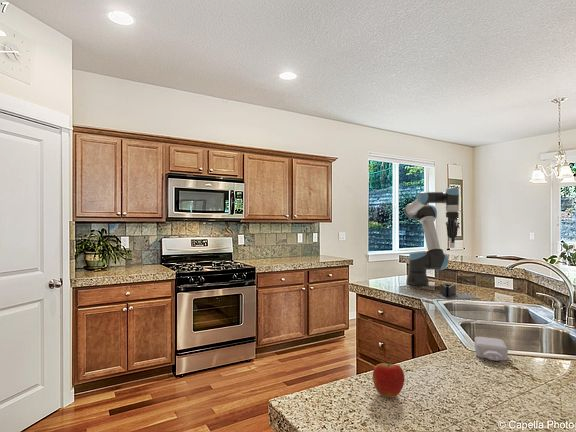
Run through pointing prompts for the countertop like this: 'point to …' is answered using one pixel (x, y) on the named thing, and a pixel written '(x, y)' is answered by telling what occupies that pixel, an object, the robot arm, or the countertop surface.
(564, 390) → the countertop surface
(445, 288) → the phone stand
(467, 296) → the mat
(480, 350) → the charger
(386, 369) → the apple
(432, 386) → the countertop surface
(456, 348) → the countertop surface
